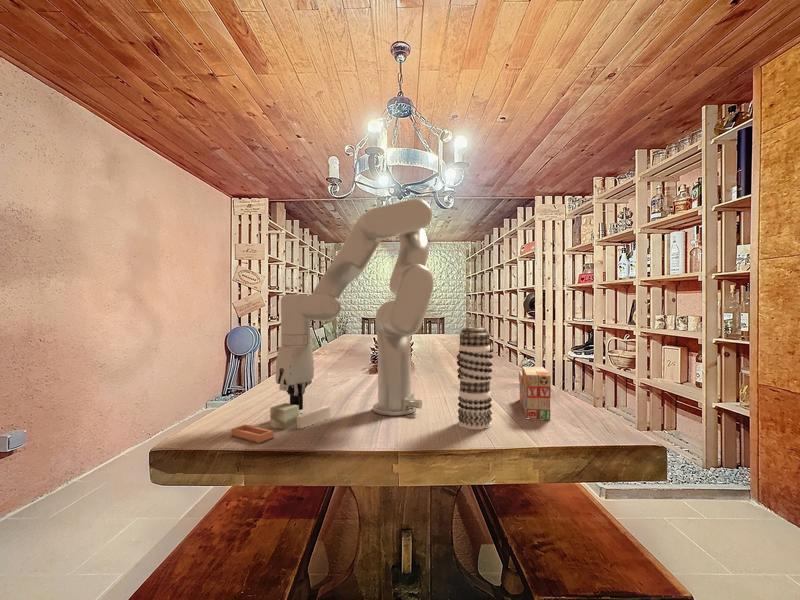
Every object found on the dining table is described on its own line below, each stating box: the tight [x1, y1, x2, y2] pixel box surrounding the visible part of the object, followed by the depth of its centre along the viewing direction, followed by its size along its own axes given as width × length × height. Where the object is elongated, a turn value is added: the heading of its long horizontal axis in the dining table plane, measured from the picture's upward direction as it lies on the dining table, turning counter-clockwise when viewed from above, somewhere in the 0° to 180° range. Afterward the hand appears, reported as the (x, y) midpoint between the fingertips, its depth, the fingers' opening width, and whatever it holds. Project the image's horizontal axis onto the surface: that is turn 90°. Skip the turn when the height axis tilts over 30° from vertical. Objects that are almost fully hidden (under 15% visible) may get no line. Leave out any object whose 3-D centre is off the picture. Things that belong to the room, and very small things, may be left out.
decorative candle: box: [456, 326, 494, 430], centre depth 108 cm, size 9×9×25 cm
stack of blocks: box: [518, 366, 552, 421], centre depth 122 cm, size 21×6×12 cm, turn 169°
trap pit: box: [230, 424, 275, 445], centre depth 99 cm, size 10×4×2 cm, turn 59°
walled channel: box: [269, 401, 331, 430], centre depth 113 cm, size 11×11×3 cm
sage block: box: [269, 402, 300, 431], centre depth 108 cm, size 5×5×5 cm
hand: (296, 409), depth 112 cm, fingers closed
